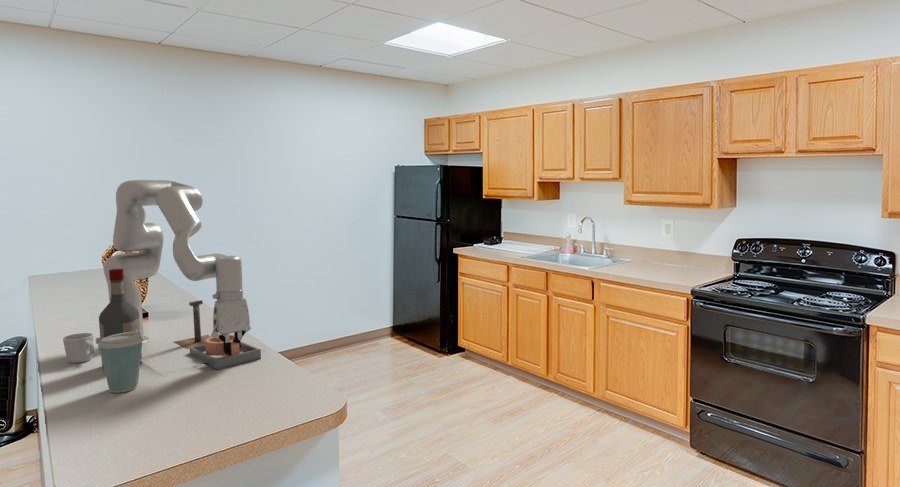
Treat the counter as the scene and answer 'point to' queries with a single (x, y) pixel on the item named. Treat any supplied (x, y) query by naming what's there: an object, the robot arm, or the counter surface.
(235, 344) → the ring
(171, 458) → the counter surface
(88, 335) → the cup
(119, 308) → the liquor
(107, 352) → the disposable coffee cup
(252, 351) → the gray rectangular frame
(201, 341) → the post stand
